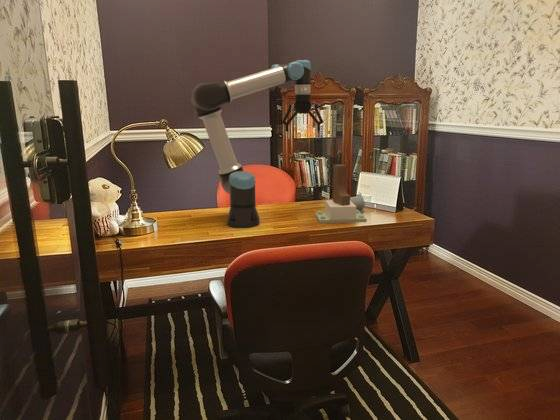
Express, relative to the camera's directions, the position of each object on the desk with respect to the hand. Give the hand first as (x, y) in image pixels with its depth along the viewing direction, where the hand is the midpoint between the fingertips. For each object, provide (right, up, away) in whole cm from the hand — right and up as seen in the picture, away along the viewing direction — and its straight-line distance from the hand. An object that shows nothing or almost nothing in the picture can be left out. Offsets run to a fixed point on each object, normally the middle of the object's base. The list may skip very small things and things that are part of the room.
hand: (302, 138), depth 220 cm
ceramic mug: (+27, -36, +6) cm, 46 cm away
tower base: (+18, -39, -7) cm, 44 cm away
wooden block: (+18, -32, -9) cm, 38 cm away
